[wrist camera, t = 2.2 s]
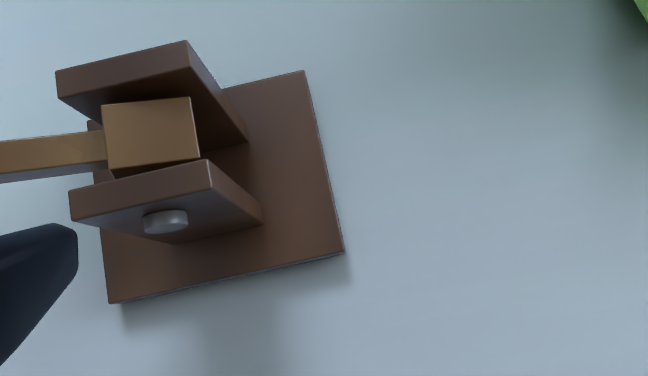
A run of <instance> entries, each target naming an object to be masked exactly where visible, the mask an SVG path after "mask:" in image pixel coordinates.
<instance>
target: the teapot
mask: <svg viewBox="0 0 648 376" xmlns="http://www.w3.org/2000/svg"><path fill="white" fill-rule="evenodd" d="M634 2H635V3H636V5H637V7H638V8H639V10H640V11H641V13H642V15H643V16H644V18H645V20H646V21H647V23H648V0H634Z"/></svg>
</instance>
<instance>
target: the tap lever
mask: <svg viewBox="0 0 648 376" xmlns="http://www.w3.org/2000/svg"><path fill="white" fill-rule="evenodd" d="M101 115H102V123H103V130H96V131H87V132H78V133H69V134H60V135H51V136H41V137H32V138H23V139H14V140H5V141H0V184H2V183H9V182H17V181H25V180H32V179H40V178H48V177H55V176H63V175H71V174H78V173H86V172H94V171H101V170H109V171H110V172H111V174H112V176H113V177H114V179H120V178H124V177H128V176H133V175H137V174H141V173H146V172H150V171H154V170H158V169H163V168H167V167H171V166H176V165H180V164H184V163H189V162H193V161H197V160H200V151H199V145H198V139H197V133H196V127H195V121H194V116H193V110H192V104H191V98H190V97H179V98H168V99H158V100H148V101H137V102H127V103H117V104H106V105H101Z"/></svg>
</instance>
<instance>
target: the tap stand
mask: <svg viewBox="0 0 648 376" xmlns="http://www.w3.org/2000/svg"><path fill="white" fill-rule="evenodd" d="M55 76H56V86H57V95H58V99H59V100H61V101H63V102H64V103H66V104H67V105H69V106H71V107H72V108H74V109H75V110H77V111H79V112H80V113H82V114H83V115H85V116H87V117H88V118H90V119H91V120H88V121H87V128H88V131H96V130H103V123H102V115H101V105H106V104H117V103H127V102H137V101H148V100H158V99H168V98H179V97H190V98H191V104H192V110H193V116H194V121H195V127H196V133H197V139H198V145H199V151H200V160H197V161H193V162H189V163H184V164H180V165H176V166H171V167H167V168H163V169H158V170H154V171H150V172H146V173H141V174H137V175H133V176H128V177H124V178H120V179H114V177H113V176H112V174H111V172H110V171H109V170H101V171H94V172H93V178H94V185H89V186H85V187H81V188H77V189H72V190H69V191H68V196H69V205H70V214H71V220H72V221H73V222H78V223H82V224H86V225H90V226H95V227H99V228H100V236H101V245H102V253H103V262H104V270H105V278H106V287H107V295H108V303H109V304H122V303H126V302H130V301H135V300H139V299H144V298H148V297H153V296H157V295H162V294H166V293H171V292H175V291H179V290H184V289H188V288H193V287H197V286H202V285H206V284H211V283H215V282H220V281H224V280H228V279H233V278H237V277H242V276H246V275H251V274H255V273H260V272H264V271H269V270H273V269H277V268H282V267H286V266H291V265H295V264H300V263H304V262H309V261H313V260H318V259H322V258H326V257H331V256H335V255H340V254H344V253H345V252H346V251H345V246H344V242H343V237H342V233H341V228H340V224H339V219H338V215H337V211H336V206H335V202H334V197H333V193H332V188H331V184H330V180H329V175H328V171H327V166H326V162H325V157H324V153H323V149H322V144H321V140H320V135H319V131H318V126H317V122H316V118H315V113H314V109H313V104H312V100H311V95H310V91H309V86H308V82H307V78H306V74H305V71H304V70H301V71H296V72H292V73H288V74H284V75H279V76H275V77H271V78H267V79H262V80H258V81H254V82H250V83H245V84H241V85H237V86H233V87H228V88H224V89H221V88H220V87H219V85H218V84H217V82H216V81H215V79H214V78H213V77H212V75H211V74H210V72H209V71H208V69H207V68H206V67H205V65H204V64H203V62H202V61H201V59H200V58H199V57H198V55H197V54H196V52H195V51H194V49H193V48H192V47H191V45H190V44H189V42H188V41H187V40H183V41H179V42H175V43H170V44H166V45H162V46H158V47H154V48H149V49H145V50H141V51H137V52H133V53H129V54H124V55H120V56H116V57H112V58H108V59H103V60H99V61H95V62H91V63H87V64H83V65H78V66H74V67H70V68H66V69H62V70H57V71H55Z"/></svg>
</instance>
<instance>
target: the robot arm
mask: <svg viewBox="0 0 648 376" xmlns="http://www.w3.org/2000/svg"><path fill="white" fill-rule="evenodd" d="M78 264H79V263H78V238H77V234H76V232H75V231H74V230H73V229H70V228H67V227H65V226H62V225H59V224H56V223H50V224H46V225H42V226H38V227H34V228H29V229H25V230H21V231H17V232H13V233H9V234H5V235H1V236H0V366H1V365H2V364H3V363H4V362H5V361H6V360H7V359H8V358H9V356H10V355H11V354H12V353H13V352H14V351H15V350H16V349H17V348H18V347H19V346H20V344H21V343H22V342H23V341H24V340H25V339H26V337H27V336H28V335H29V334H30V332H31V331H32V330H33V329H34V327H35V326H36V325H37V324H38V322H39V321H40V320H41V319H42V317H43V316H44V315H45V314H46V312H47V311H48V310H49V309H50V307H51V306H52V305H53V304H54V302H55V301H56V300H57V299H58V297H59V296H60V295H61V294H62V292H63V291H64V290H65V289H66V287H67V286H68V285H69V284H70V282H71V281H72V280H73V278H74V277H75V275H76V273H77V270H78Z"/></svg>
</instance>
